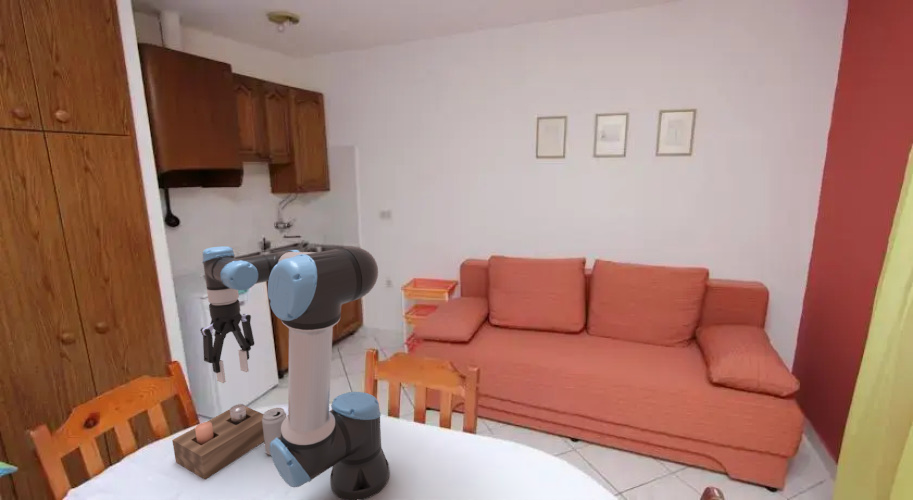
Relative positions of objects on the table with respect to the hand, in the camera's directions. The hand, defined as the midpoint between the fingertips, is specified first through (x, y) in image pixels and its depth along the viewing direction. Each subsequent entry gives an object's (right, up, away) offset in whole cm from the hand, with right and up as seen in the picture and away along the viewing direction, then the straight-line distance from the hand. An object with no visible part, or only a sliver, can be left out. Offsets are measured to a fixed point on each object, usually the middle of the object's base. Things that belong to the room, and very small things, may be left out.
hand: (233, 375), depth 120 cm
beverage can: (+13, -22, -1) cm, 25 cm away
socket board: (-2, -21, 0) cm, 22 cm away
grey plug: (0, -16, +3) cm, 16 cm away
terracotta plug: (-5, -18, -5) cm, 19 cm away
